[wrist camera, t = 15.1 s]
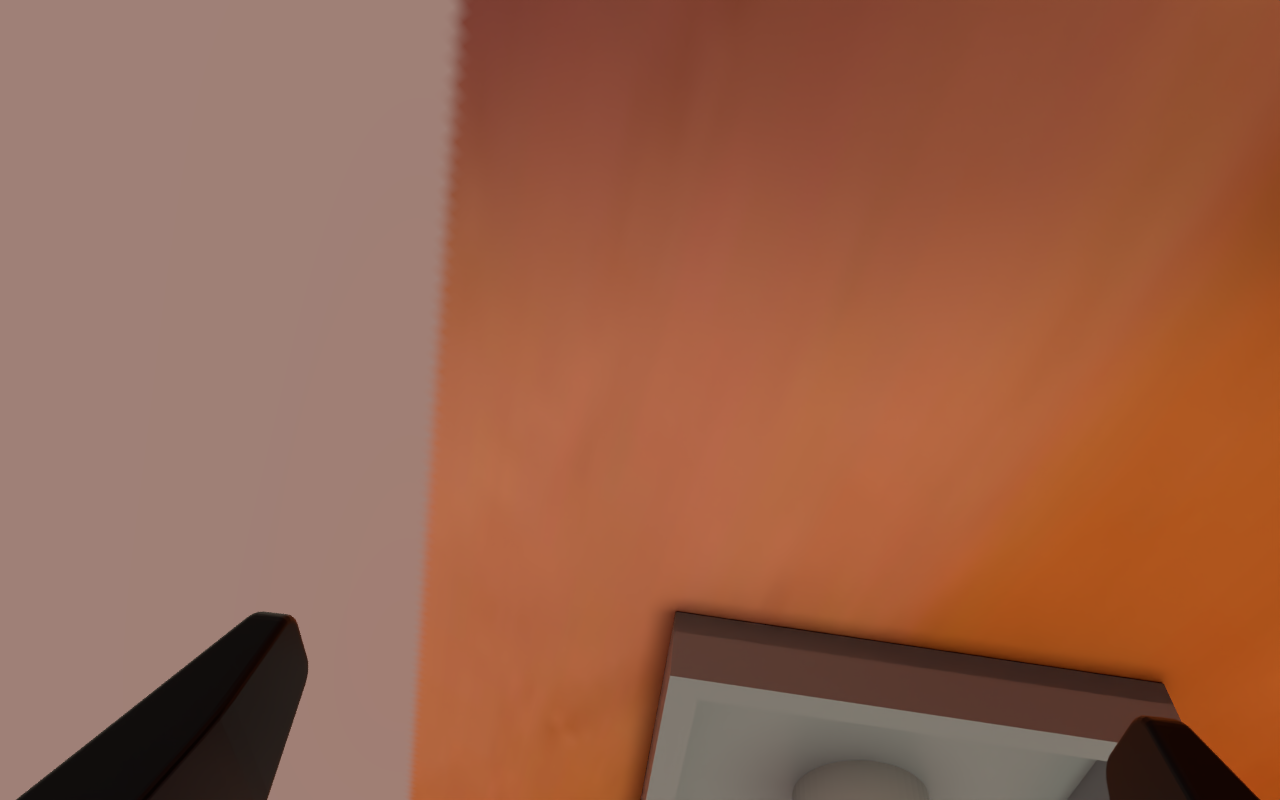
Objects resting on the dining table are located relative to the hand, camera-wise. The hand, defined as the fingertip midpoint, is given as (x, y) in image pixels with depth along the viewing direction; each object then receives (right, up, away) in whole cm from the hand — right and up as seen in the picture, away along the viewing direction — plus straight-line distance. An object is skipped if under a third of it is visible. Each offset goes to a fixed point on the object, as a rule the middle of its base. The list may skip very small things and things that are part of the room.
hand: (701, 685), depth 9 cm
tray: (+8, -11, +23) cm, 27 cm away
